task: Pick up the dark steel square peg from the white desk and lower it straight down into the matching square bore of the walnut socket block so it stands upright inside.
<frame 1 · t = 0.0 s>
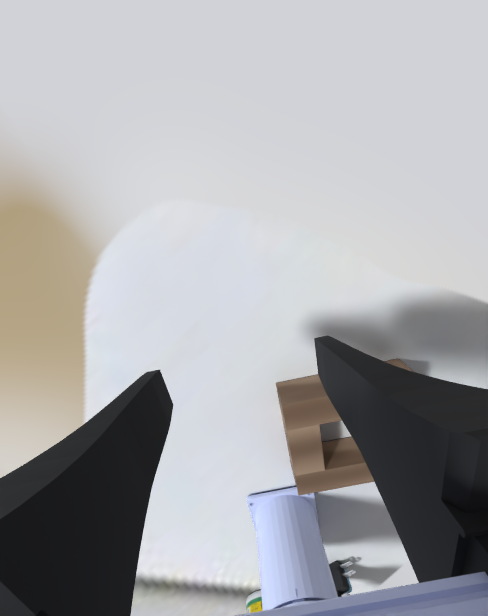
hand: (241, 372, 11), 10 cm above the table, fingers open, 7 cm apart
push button: (331, 565, 36), on the table
supplement bottle: (263, 595, 38), on the table
socket block: (340, 417, 26), on the table
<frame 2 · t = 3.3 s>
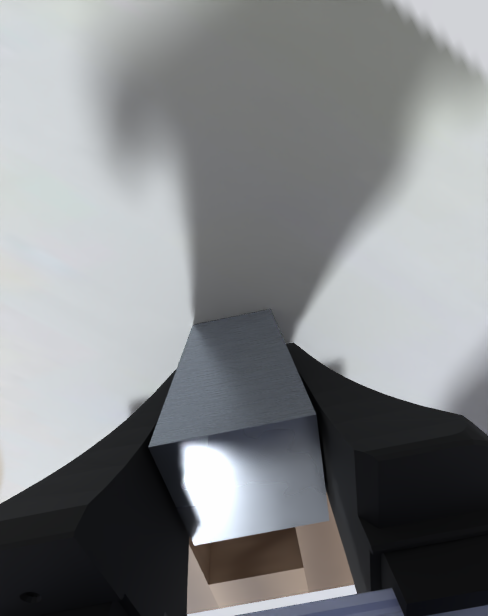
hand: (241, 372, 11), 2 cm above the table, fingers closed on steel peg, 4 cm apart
steel peg: (239, 351, 13), on the table, touching gripper
socket block: (243, 493, 17), on the table
when the fingers open (3 cm above the table, at t = 8.5 s): steel peg drops 1 cm, resting in socket block.
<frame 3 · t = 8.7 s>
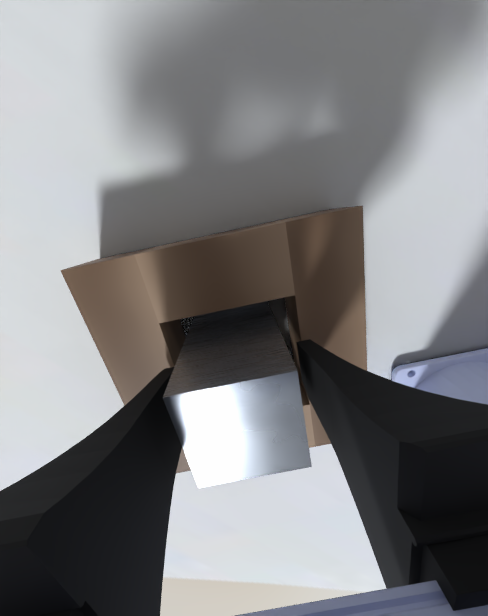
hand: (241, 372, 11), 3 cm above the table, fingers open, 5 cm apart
steel peg: (238, 335, 14), resting in socket block
socket block: (238, 338, 14), on the table
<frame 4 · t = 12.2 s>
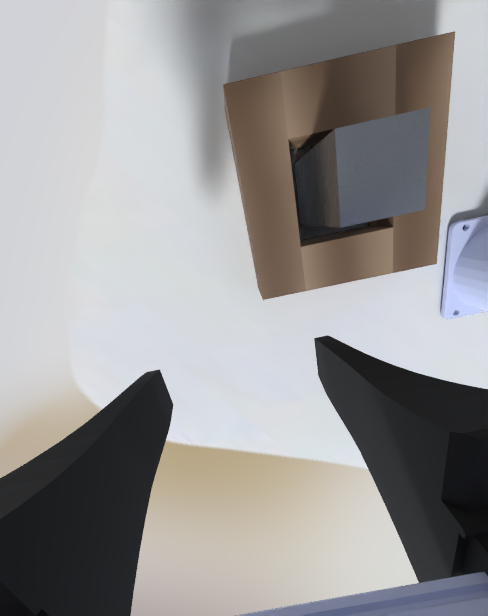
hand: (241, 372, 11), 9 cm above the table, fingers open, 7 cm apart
steel peg: (325, 189, 17), resting in socket block
socket block: (325, 191, 17), on the table
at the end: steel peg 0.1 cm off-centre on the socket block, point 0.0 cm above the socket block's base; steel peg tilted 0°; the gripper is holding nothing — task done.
